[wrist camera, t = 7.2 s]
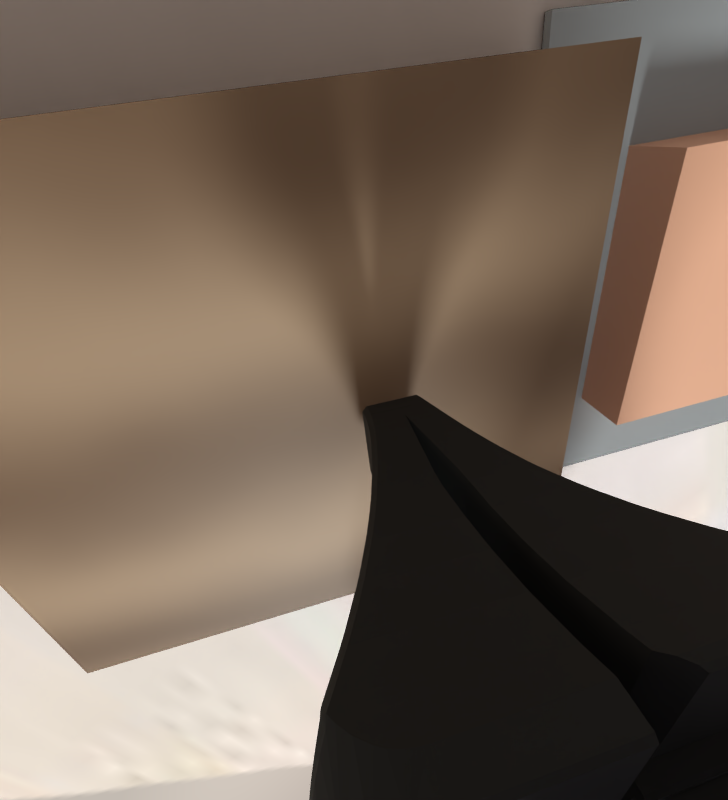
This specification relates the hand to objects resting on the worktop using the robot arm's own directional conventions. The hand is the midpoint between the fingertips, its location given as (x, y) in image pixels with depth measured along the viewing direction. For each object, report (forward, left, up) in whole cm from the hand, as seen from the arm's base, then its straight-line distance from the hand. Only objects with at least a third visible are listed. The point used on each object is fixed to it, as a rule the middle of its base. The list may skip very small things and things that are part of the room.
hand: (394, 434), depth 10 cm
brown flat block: (0, +2, -5) cm, 5 cm away
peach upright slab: (0, -12, -3) cm, 12 cm away
